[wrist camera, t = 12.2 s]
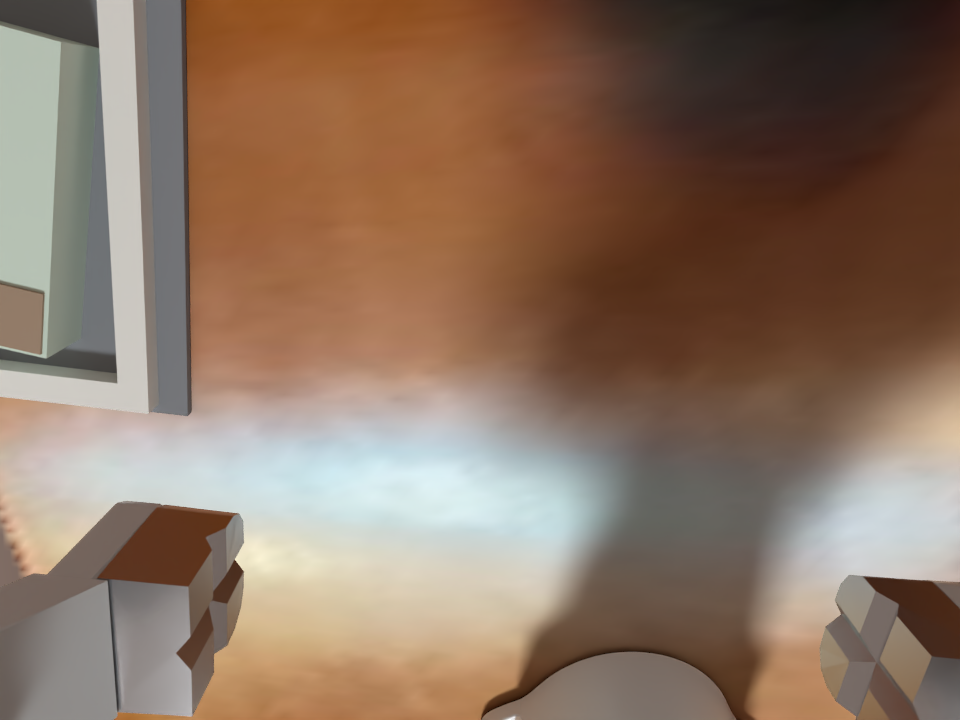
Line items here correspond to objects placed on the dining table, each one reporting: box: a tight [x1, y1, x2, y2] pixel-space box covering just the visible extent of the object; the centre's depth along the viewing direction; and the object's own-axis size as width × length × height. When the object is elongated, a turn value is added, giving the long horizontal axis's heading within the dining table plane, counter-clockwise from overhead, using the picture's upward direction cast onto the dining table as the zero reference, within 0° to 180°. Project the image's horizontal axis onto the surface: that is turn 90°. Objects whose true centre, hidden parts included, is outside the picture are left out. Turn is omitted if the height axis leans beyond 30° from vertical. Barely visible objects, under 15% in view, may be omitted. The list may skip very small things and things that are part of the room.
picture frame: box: [0, 0, 191, 416], centre depth 32 cm, size 22×14×2 cm, turn 172°
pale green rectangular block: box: [0, 21, 99, 359], centre depth 31 cm, size 5×14×3 cm, turn 165°
